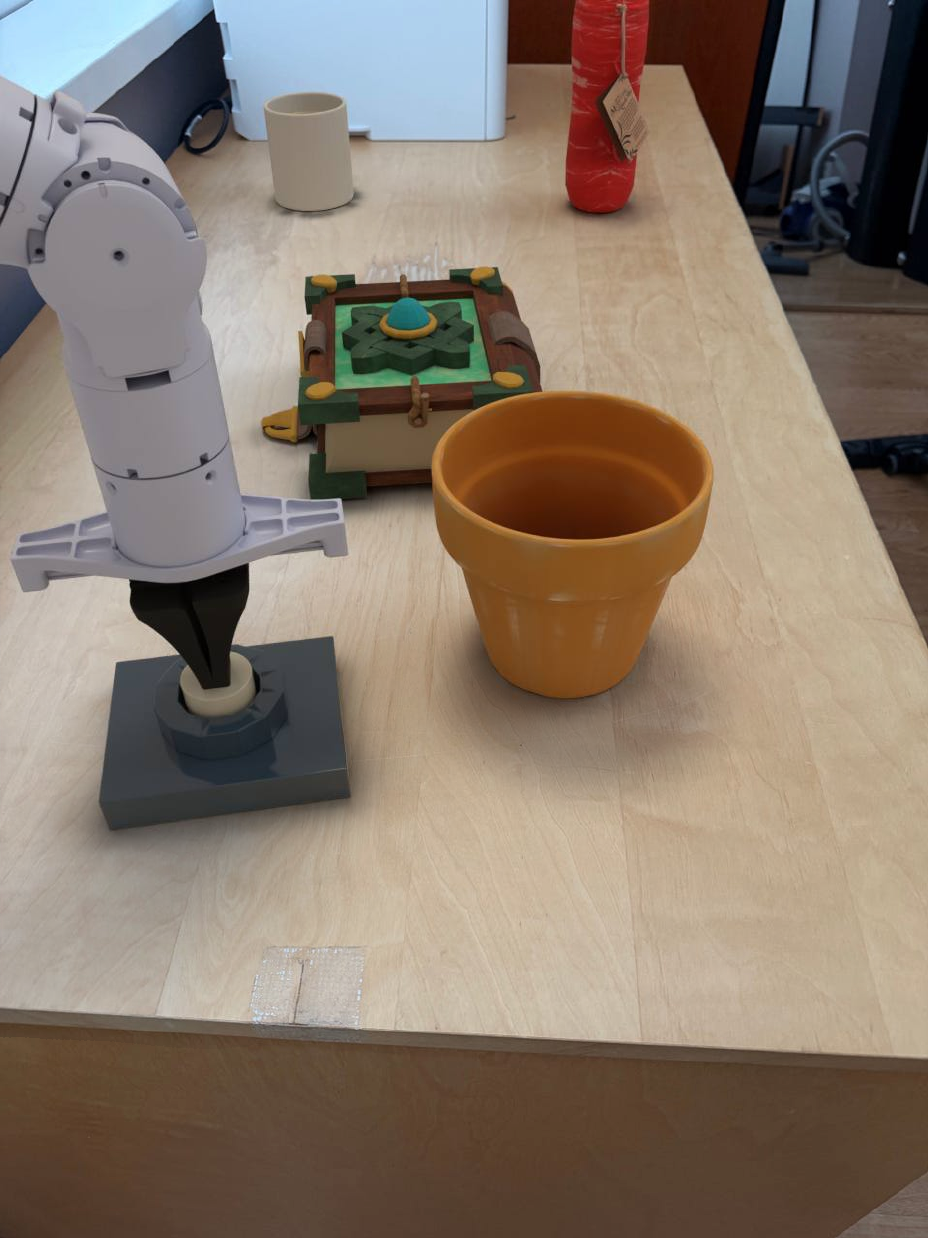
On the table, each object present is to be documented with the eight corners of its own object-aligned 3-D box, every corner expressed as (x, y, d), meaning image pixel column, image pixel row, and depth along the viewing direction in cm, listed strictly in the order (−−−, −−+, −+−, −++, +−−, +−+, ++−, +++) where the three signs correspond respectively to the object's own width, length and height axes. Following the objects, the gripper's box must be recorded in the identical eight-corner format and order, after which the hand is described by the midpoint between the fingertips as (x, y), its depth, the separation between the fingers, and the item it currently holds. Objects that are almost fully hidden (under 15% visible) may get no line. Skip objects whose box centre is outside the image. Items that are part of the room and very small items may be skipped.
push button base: (109, 831, 51) (88, 778, 49) (124, 689, 59) (107, 637, 56) (351, 797, 53) (344, 744, 50) (336, 663, 60) (330, 611, 58)
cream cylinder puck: (185, 728, 52) (178, 704, 51) (187, 679, 55) (181, 655, 54) (257, 719, 52) (252, 695, 51) (256, 670, 55) (251, 646, 54)
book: (272, 336, 92) (256, 222, 85) (509, 323, 93) (511, 210, 87) (254, 508, 72) (230, 377, 65) (555, 489, 73) (562, 359, 67)
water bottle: (651, 227, 110) (681, -51, 93) (577, 232, 109) (593, -48, 93) (624, 188, 119) (646, -72, 102) (555, 192, 118) (566, -69, 102)
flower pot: (441, 742, 55) (433, 548, 47) (437, 575, 66) (429, 392, 58) (705, 732, 56) (745, 537, 47) (658, 567, 66) (684, 384, 58)
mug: (294, 217, 114) (282, 119, 107) (261, 191, 120) (248, 97, 113) (382, 198, 118) (376, 102, 111) (347, 174, 124) (339, 82, 117)
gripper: (327, 380, 47) (353, 606, 56) (-3, 411, 46) (77, 639, 55) (338, 463, 42) (365, 698, 51) (-34, 502, 40) (61, 738, 49)
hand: (216, 674), depth 53 cm, fingers closed, pressing on cream cylinder puck
